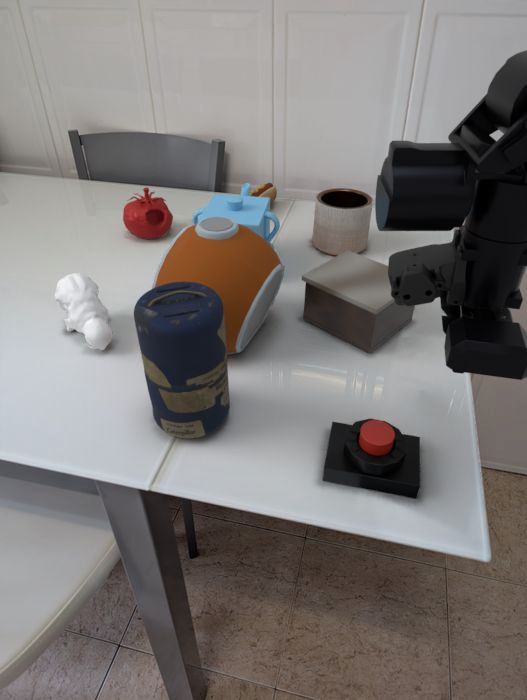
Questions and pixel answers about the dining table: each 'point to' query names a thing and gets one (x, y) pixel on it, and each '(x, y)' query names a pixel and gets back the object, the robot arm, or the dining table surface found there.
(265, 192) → the food
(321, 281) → the grey square plate
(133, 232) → the red tomato
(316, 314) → the wooden box
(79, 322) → the white animal figurine
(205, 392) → the canister
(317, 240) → the planter
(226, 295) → the alarm clock
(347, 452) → the switch block
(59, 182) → the dining table surface
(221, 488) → the dining table surface
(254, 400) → the dining table surface
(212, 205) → the teapot
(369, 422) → the button
